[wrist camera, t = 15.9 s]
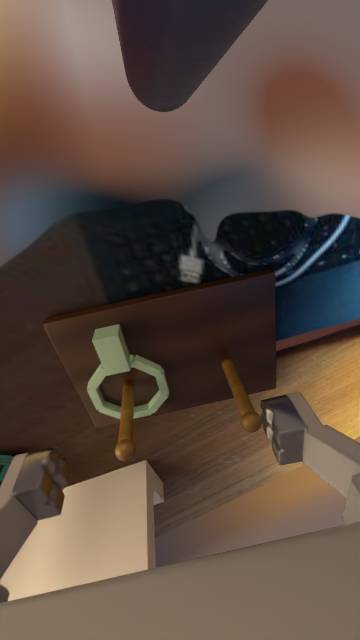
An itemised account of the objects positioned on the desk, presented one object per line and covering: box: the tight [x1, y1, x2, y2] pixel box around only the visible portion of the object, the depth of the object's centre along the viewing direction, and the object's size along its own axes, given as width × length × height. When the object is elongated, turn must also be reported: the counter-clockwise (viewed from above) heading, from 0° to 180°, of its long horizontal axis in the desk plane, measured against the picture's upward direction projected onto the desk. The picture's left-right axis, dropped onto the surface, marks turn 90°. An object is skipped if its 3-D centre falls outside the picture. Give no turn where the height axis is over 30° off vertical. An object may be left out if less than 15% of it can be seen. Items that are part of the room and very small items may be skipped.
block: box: [0, 460, 164, 601], centre depth 41 cm, size 35×8×28 cm, turn 111°
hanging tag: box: [87, 324, 169, 419], centre depth 37 cm, size 15×10×2 cm
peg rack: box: [43, 269, 276, 461], centre depth 34 cm, size 19×28×13 cm
